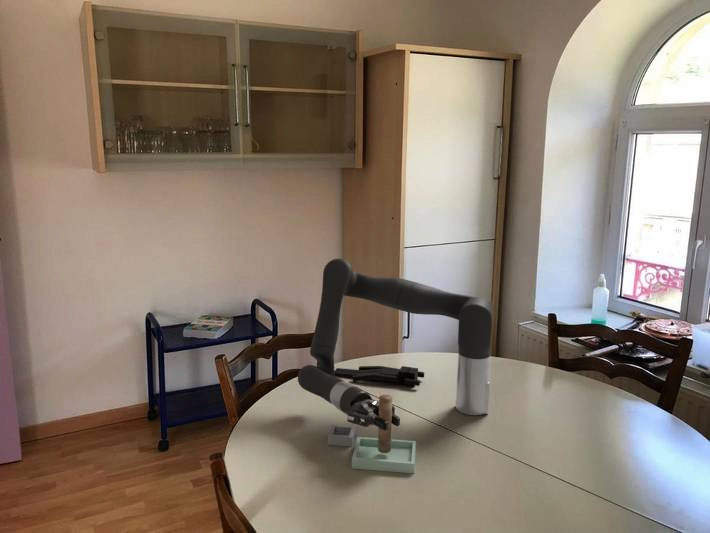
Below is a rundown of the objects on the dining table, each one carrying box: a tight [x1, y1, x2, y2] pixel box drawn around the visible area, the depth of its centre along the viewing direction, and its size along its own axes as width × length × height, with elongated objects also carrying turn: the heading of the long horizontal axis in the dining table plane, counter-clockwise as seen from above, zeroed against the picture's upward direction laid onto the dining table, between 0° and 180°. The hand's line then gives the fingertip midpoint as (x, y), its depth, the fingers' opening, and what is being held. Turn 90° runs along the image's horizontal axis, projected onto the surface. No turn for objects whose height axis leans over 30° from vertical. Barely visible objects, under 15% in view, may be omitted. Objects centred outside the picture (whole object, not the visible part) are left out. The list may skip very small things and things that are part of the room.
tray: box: [351, 436, 417, 474], centre depth 148 cm, size 15×11×2 cm
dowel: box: [377, 394, 393, 453], centre depth 146 cm, size 3×3×14 cm
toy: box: [334, 365, 425, 388], centre depth 197 cm, size 9×6×30 cm
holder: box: [327, 424, 357, 447], centre depth 157 cm, size 6×6×2 cm
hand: (392, 424), depth 143 cm, fingers closed on dowel, 3 cm apart
